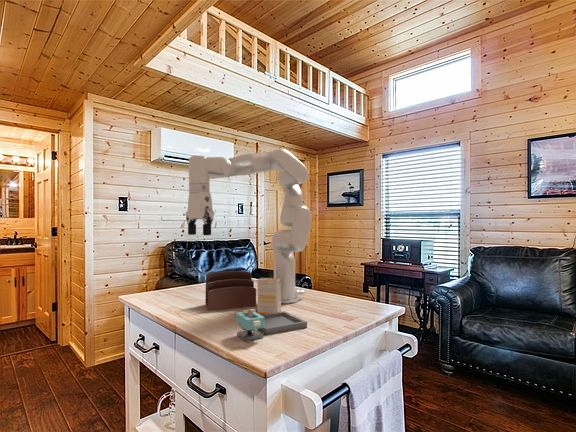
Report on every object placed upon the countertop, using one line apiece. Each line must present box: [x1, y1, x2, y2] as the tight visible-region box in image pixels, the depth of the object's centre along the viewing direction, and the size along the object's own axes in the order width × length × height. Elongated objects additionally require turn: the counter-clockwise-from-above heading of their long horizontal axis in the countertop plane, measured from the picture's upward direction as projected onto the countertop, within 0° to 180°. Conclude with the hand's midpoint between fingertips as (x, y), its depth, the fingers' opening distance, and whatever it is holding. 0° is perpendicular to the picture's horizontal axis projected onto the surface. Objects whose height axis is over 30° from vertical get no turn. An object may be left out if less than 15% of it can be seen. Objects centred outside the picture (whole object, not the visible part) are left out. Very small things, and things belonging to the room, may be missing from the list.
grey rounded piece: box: [236, 308, 264, 342], centre depth 100 cm, size 6×6×8 cm
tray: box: [257, 311, 308, 336], centre depth 112 cm, size 15×15×2 cm
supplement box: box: [256, 277, 282, 315], centre depth 127 cm, size 8×5×13 cm, turn 71°
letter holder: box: [204, 270, 257, 311], centre depth 138 cm, size 10×20×14 cm, turn 109°
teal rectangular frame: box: [235, 311, 265, 330], centre depth 100 cm, size 10×6×3 cm, turn 30°
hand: (199, 234), depth 123 cm, fingers open, 9 cm apart
